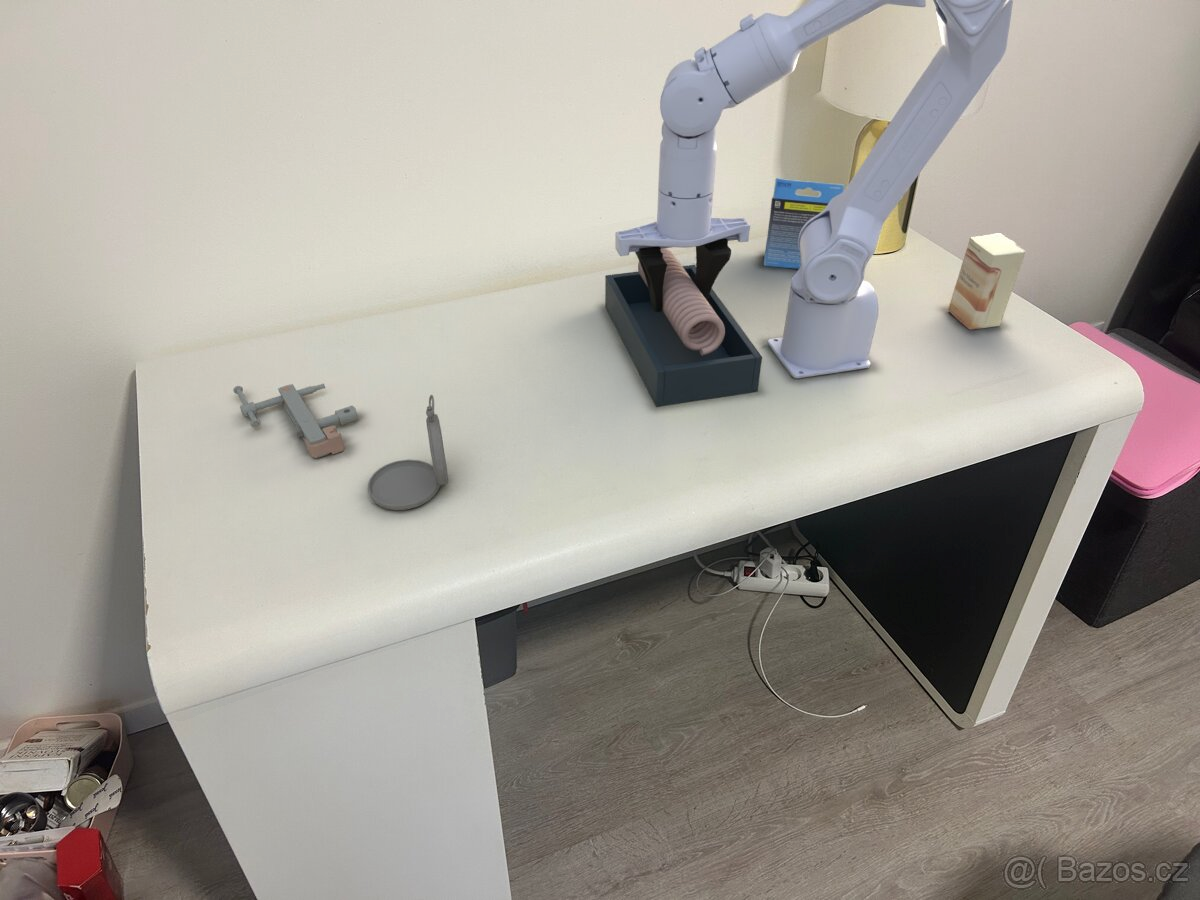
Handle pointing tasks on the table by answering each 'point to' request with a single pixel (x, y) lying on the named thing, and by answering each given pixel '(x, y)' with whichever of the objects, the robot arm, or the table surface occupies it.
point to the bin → (679, 347)
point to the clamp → (304, 418)
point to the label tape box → (793, 218)
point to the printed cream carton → (986, 280)
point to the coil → (688, 308)
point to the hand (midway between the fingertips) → (678, 304)
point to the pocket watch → (412, 474)
